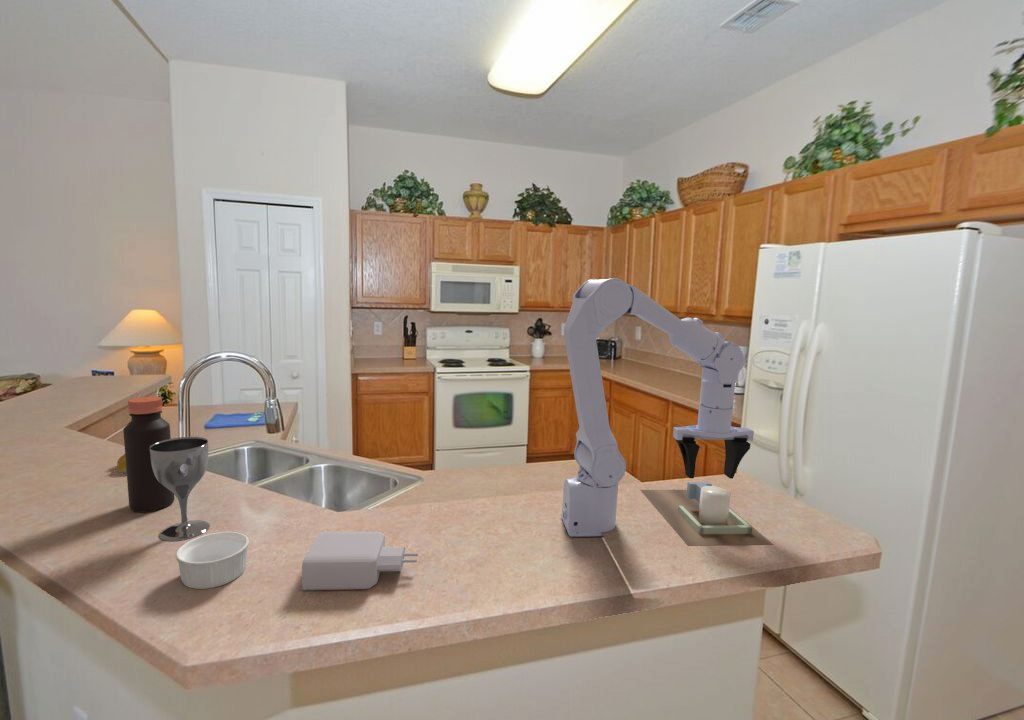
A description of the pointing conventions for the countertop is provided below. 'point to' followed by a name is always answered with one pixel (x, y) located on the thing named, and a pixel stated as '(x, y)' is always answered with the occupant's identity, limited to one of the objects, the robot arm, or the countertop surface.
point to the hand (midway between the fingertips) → (709, 476)
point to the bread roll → (122, 464)
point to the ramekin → (212, 559)
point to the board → (668, 509)
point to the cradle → (740, 528)
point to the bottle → (145, 454)
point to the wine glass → (180, 479)
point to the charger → (350, 560)
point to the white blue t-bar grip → (710, 502)
